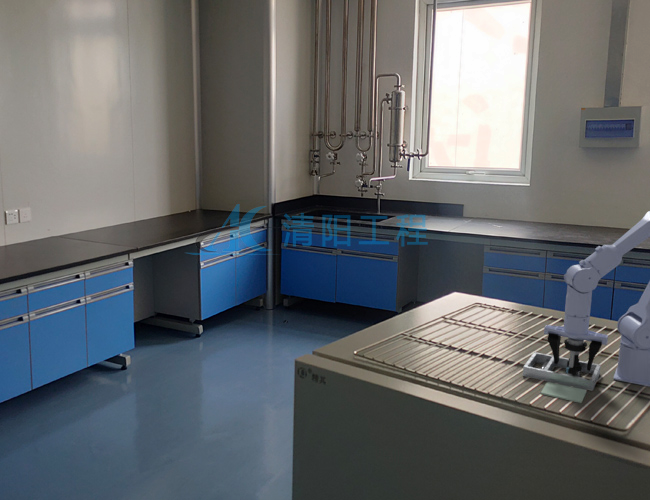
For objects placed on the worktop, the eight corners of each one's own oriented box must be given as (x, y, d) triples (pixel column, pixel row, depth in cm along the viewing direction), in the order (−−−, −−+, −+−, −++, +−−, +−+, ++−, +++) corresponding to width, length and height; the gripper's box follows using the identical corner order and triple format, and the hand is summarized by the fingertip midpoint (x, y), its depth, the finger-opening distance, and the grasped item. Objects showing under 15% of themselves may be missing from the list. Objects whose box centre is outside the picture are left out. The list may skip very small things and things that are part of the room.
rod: (543, 365, 159) (549, 367, 158) (536, 376, 152) (542, 378, 152) (544, 360, 159) (550, 362, 158) (537, 371, 152) (543, 373, 151)
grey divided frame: (599, 374, 154) (600, 364, 153) (592, 390, 144) (593, 381, 143) (533, 360, 162) (534, 352, 161) (522, 376, 152) (523, 366, 152)
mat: (586, 391, 144) (586, 390, 143) (581, 403, 138) (581, 401, 138) (547, 383, 148) (547, 381, 148) (540, 393, 142) (540, 392, 142)
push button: (577, 384, 148) (580, 345, 145) (555, 378, 151) (558, 340, 149) (587, 376, 152) (590, 338, 150) (566, 370, 156) (569, 333, 154)
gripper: (543, 313, 149) (538, 365, 151) (607, 323, 141) (601, 377, 144) (549, 306, 155) (545, 356, 157) (611, 315, 147) (605, 367, 150)
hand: (572, 365), depth 151 cm, fingers open, 7 cm apart
